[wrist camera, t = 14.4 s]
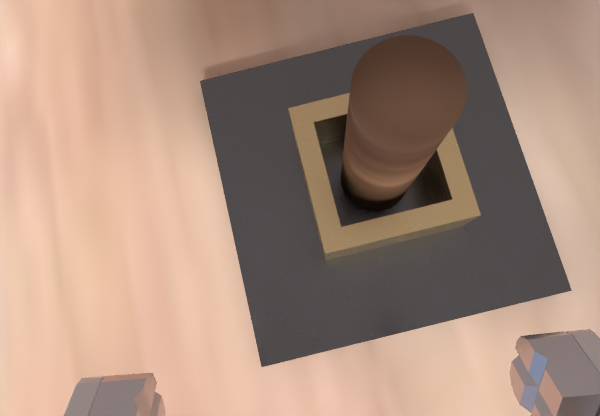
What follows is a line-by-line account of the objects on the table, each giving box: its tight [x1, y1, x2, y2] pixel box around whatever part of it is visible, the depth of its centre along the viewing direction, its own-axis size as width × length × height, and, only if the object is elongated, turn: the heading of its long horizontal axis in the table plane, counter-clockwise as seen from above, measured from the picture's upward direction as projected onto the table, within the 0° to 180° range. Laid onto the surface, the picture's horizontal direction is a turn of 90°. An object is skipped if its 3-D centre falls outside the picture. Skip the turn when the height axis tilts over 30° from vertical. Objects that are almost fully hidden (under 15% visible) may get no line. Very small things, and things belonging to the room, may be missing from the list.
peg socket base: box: [200, 13, 571, 367], centre depth 24 cm, size 16×16×4 cm
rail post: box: [341, 35, 467, 211], centre depth 20 cm, size 4×4×11 cm
